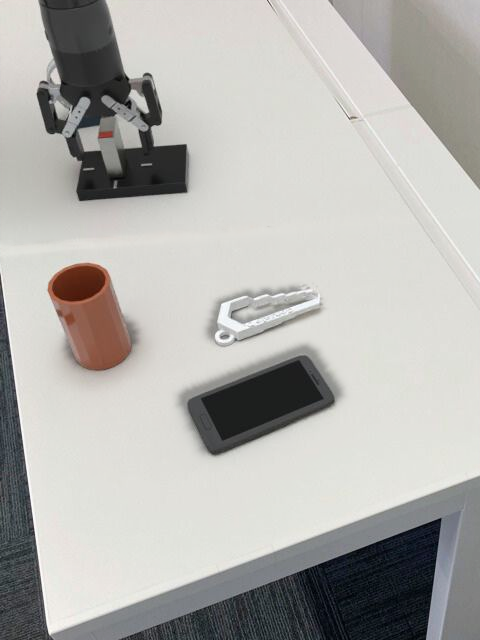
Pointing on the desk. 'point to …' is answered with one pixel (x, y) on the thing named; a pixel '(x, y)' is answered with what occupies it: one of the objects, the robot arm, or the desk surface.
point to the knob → (112, 147)
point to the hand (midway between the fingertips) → (114, 154)
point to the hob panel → (135, 174)
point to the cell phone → (259, 403)
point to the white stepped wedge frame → (259, 325)
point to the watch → (85, 119)
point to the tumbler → (90, 315)
